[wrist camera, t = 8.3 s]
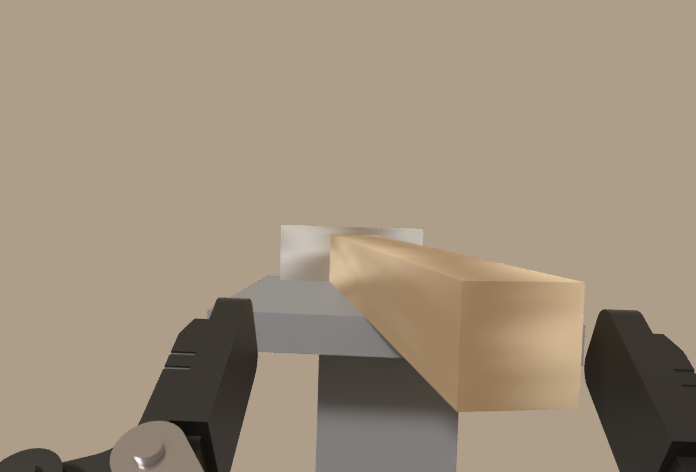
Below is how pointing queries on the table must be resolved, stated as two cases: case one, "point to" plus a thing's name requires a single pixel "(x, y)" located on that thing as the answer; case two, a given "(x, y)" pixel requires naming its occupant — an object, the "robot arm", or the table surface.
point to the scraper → (453, 314)
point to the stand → (356, 382)
